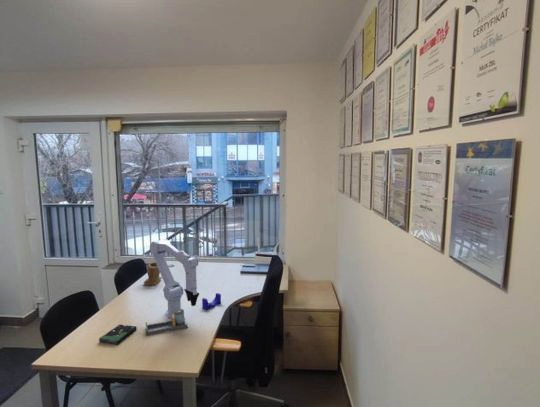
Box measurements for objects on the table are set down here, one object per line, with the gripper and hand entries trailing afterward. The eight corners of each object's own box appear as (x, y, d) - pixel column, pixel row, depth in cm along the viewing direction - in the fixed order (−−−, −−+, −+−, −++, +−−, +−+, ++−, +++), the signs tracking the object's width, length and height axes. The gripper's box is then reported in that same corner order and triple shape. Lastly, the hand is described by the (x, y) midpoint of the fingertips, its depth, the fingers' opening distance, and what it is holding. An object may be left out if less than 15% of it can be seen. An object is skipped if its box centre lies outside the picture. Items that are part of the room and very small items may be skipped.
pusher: (172, 323, 170) (171, 314, 169) (173, 322, 170) (173, 314, 170) (173, 328, 164) (173, 319, 164) (175, 327, 165) (175, 318, 164)
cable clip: (207, 310, 188) (206, 300, 187) (202, 308, 191) (202, 298, 190) (222, 304, 197) (222, 294, 196) (217, 302, 200) (217, 292, 199)
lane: (145, 328, 165) (145, 322, 165) (185, 321, 174) (185, 315, 173) (146, 336, 158) (145, 329, 157) (187, 327, 166) (187, 321, 166)
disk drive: (119, 329, 166) (98, 343, 151) (119, 324, 166) (98, 338, 151) (137, 331, 164) (117, 346, 149) (136, 326, 164) (117, 340, 149)
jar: (175, 322, 170) (174, 309, 169) (185, 320, 171) (183, 308, 171) (175, 326, 165) (173, 314, 164) (185, 324, 167) (183, 312, 166)
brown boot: (157, 286, 227) (157, 266, 225) (141, 286, 227) (140, 265, 226) (166, 279, 242) (165, 260, 240) (150, 278, 242) (150, 259, 241)
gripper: (180, 276, 178) (181, 299, 179) (187, 284, 165) (187, 309, 167) (192, 274, 181) (193, 297, 183) (200, 282, 169) (201, 306, 170)
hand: (191, 303), depth 175 cm, fingers open, 7 cm apart
